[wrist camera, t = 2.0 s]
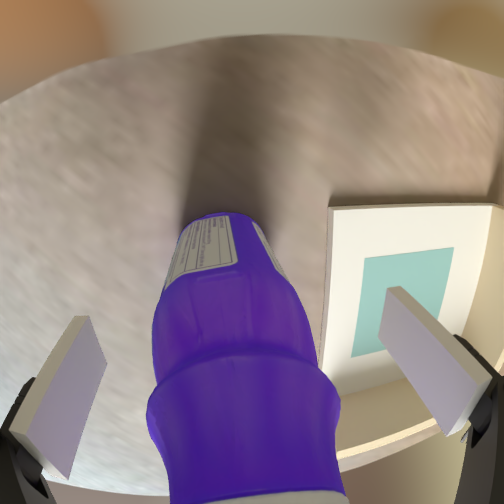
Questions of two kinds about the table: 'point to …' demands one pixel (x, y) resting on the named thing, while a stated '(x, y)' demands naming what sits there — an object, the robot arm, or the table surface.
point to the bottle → (239, 376)
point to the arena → (420, 288)
